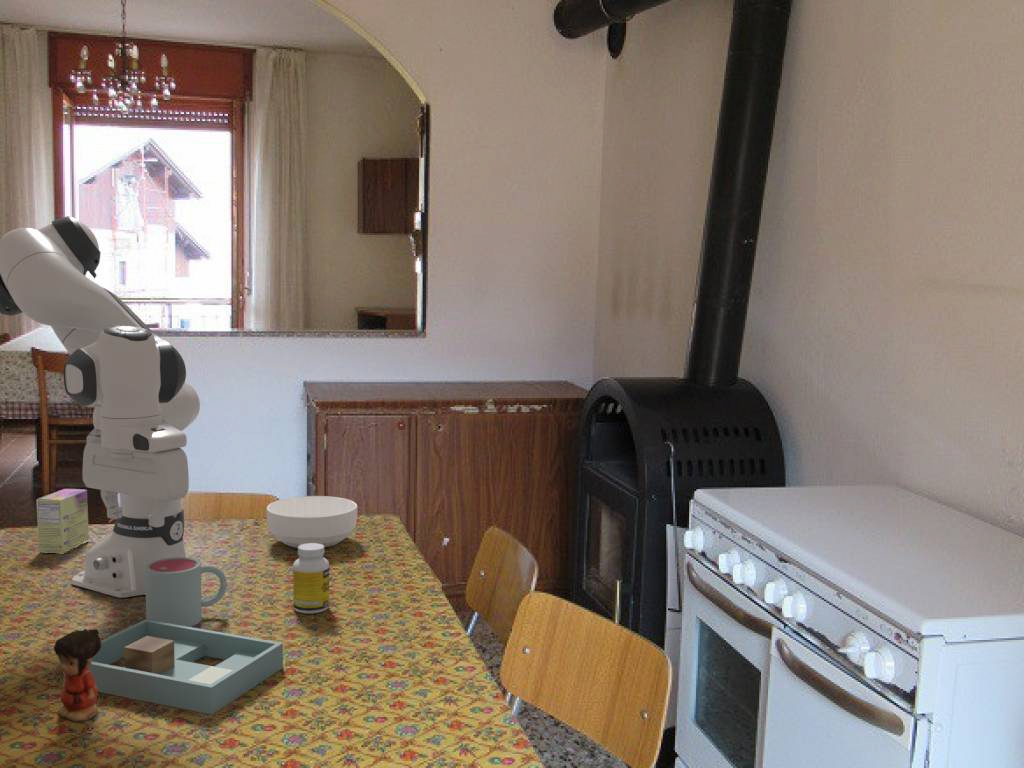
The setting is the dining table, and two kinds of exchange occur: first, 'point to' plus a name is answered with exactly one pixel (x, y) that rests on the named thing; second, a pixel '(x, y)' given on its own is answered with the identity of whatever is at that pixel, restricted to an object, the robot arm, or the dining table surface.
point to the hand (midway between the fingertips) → (135, 522)
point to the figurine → (78, 674)
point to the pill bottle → (311, 579)
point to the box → (62, 520)
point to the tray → (187, 667)
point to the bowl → (311, 520)
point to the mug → (178, 590)
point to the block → (150, 655)
